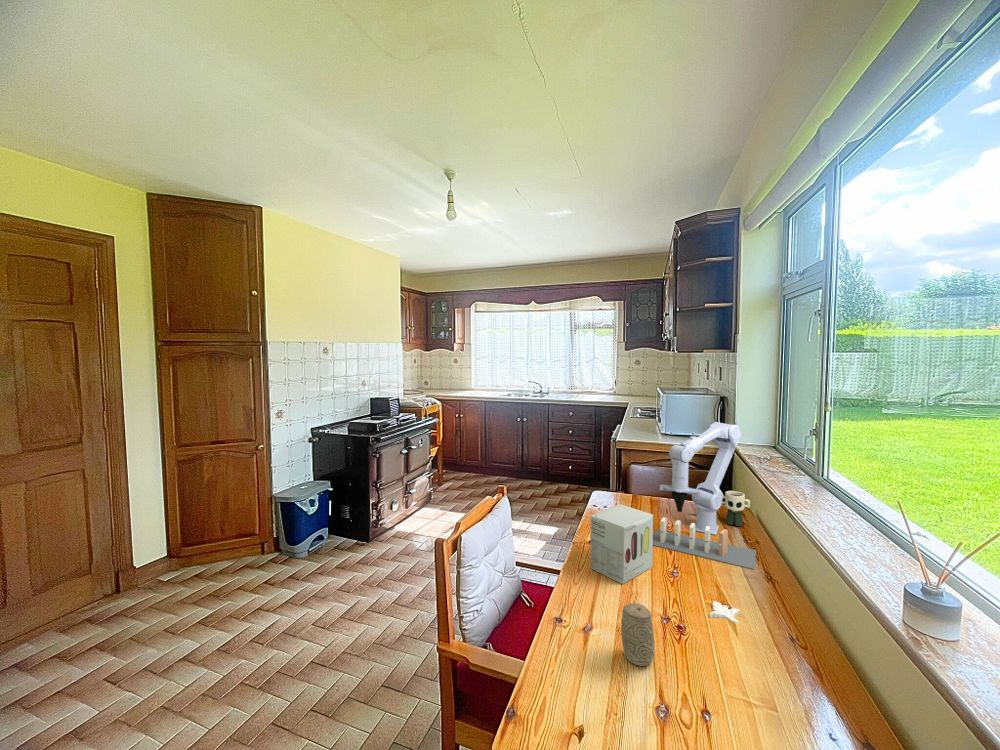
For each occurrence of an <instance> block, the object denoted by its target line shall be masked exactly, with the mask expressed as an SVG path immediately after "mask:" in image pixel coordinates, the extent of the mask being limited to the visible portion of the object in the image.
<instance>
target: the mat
mask: <svg viewBox="0 0 1000 750" xmlns="http://www.w3.org/2000/svg"><path fill="white" fill-rule="evenodd" d="M653 547H657V548H660V549H666V550H668V551H669V550H670V551H674V552H677V553H682V554H685V555H686V554H687V555H691V556H694V557H699V558H703V559H706V560H711V561H715V562H720V563H723V564H727V565H732V566H736V567H740V568H745V569H748V570H753V571H754V570H755V563H756V555H757V550H755V549H751V548H746V547H741V546H737V545H732V544H728V552H727V553H726V554H725V555H724V556H720V555H719V541H715V540H714V541H713V540H710V550H709V553H706V552H705V538H699V537H696V536H695V546H694V548H693V549H689V535H686V534H682V533H681V540H680V543H679V545H678V546H675V532H673V531H668V530H667V535H666V540H665V542H664V543H663V542H660V529H658V528H657V529H656V530H655V532H653Z"/></svg>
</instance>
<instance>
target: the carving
mask: <svg viewBox="0 0 1000 750" xmlns="http://www.w3.org/2000/svg"><path fill="white" fill-rule="evenodd" d="M622 608H623V609H622V614H621V624H620V627H621V628H620V633H621V645H622V647H623V652H624V656H625V658H626V659H627V660H628V661H629V663H632V664H633V665H636V666H639V667H643V666H644V667H645V666H648V665H650V664H651V663H652V662H653V661H654V657H655V637H654V635H653V634H654V627H653V619H652V614H651V611H650V610H649V608H647V606H645V605H644V604H642V603H639V602H632V603H627V604H625V605H624V606H623V607H622Z"/></svg>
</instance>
